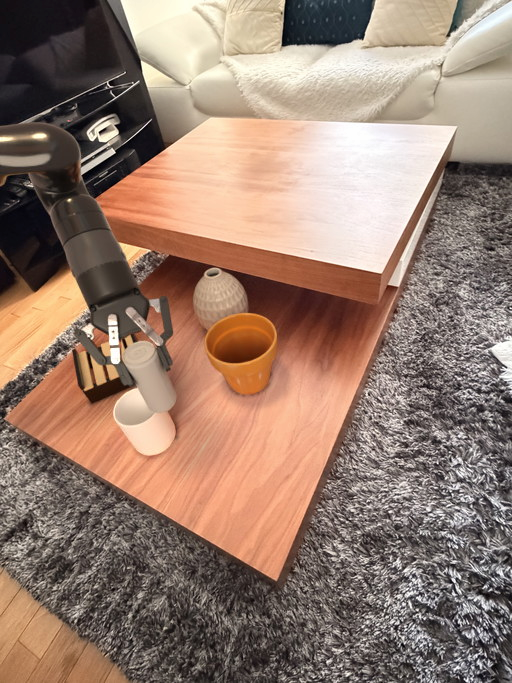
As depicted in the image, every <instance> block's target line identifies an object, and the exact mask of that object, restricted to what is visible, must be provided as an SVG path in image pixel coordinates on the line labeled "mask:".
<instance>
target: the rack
mask: <svg viewBox="0 0 512 683" xmlns="http://www.w3.org/2000/svg"><path fill="white" fill-rule="evenodd" d="M138 341H139V340H138V338H137V335H136V333H135V334H130V335H129V336H128V337H126V338H124V339H122V340H121V345H122V347H121V351H122V360H123V353H124V351H125V349H126V348H127V347H128V346H130V345H131V344H133V343H135V342H138ZM98 348H99V349H100V350H101V351H102V353H103V354H104V355H105V356H111V350H110V342H109V341H106V342H104V343H101V344H100V346H98ZM71 353H72V358H73V364H74V369H75V375H76V381H77V387H78V388H79V389H80V390H81V391H82V393H83V395H85V397H86V398H87V400H88V401H89V402H90V404H91V405H93V404H95V403H97V402H101V401H102V400H104V399H107V398H109V397H111V396H114V395H116V394H118V393H120V392H123V391H125V390H127V389H128V390H129V389H131V388H130V387H129V385H126V386H125V385H124V384H123V383H122V382H121V379H120V377H119V375H118V373H117V371H116V368H115V367H114V366H113V365H105V367H106V370H107V374H108V377H107V376H106V373H105V368H104V365H99V364H97V362H96V361H95V360H94V359H93V357H92V356H91V355H90V354H89V353H88V351H87V350H83V351H80V352H78V350H77V349H76V348H73V349H71ZM123 362H124V361H123ZM91 370H93V375H94V380H95V383H94V380H93V376H92V372H91ZM134 383H135V382H134ZM135 385H136V384H135Z"/></svg>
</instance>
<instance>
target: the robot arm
mask: <svg viewBox="0 0 512 683" xmlns="http://www.w3.org/2000/svg"><path fill="white" fill-rule="evenodd" d="M81 152H82V151H81V149H80V146H79V143H78V141H77V139H76V138H75V137H74V136H73V135H72V134H71V133H70V132H68V131H67V130H66V129H64V128H61V127H59V126H58V125H54V124H51V123H47V122H39V121H31V122H21V123H16V124H15V123H13V124H8V125H0V187H2V186H3V185H5V183H6V182H7V180H8V179H7V178H8V177H9V176H15V175H23V174H24V175H25V174H28V177H29V179H30V182H31V184H32V186H33V189H34V190H35V193H36V195H37V197H38V198H39V200H40V202H41V204H42V205H43V207H44V209H45V211H46V212H47V213H48V215H49V216H50V219H51V220H50V221H51V223H52V226H53V228H54V230H55V232H56V235H57V237H58V240H59V241H60V243H61V246H62V248H63V250H64V253H65V257H66V262H67V264H68V266H69V268H70V272H71V275H72V277H73V278H74V279H75V282H76V285H77V286H78V288H79V290H80V293H81V295H82V297H83V299H84V301H85V303H86V305H87V308H88V310H89V313H90V319H89V320H90V322H88V324H86V325H85V326H83V327H82V328H77V329H75V330H74V331H73V335H74V337H75V338H76V339H77V341H78V342H79V343H80V344H81V345H82V347H83V348H84V350H85V351H86V352H88V353H89V354H90V355H91V356H92V357H93V359H94V360H95V361H96V362H97V364H99V365H103V366H106V365H113V366H114V367H115V368H116V371H117V373H118V375H119V377H120V379H121V382H122V383H123V384H124V385H125V386H126V385H129V387H130V388H129V389H131V388H134V387H137V386H136V385H135V383H134V381H133V378H132V377H131V375H130V373H129V371H128V369H127V368H126V366H125V364H124V362H123V360H122V351H121V347H122V345H121V340H122V339H124V338H126V337H128V336H129V335H130V334H135V335H136V334H139V333H141V332H143V334H144V335H145V336H146V337H148V338H149V339H150V341H151V343H152V344H153V345H154V346H155V348H156V349H157V352H158V354H159V356H160V358H161V361H162V363H163V365H164V367H165V370H166V372H167V373H168V372H170V371H171V370H172V369H171V366H173V365H174V364H173V359H172V357H171V354H170V353H169V350H168V348H167V345H166V343H167V342H168V341H169V340H170V339H171V338H172V337H173V335H174V328H173V322H172V316H171V310H170V305H169V299H168V296H166V295H162V296H160V297H159V298H152V299H149V298H148V297H147V296H145V295H144V294H143V292H142V290H141V288H140V285H139V284H138V281H137V279H136V277H135V274H134V273H133V270H132V269H131V266H130V264H129V262H128V259H127V256H126V254H125V252H124V250H123V248H122V246H121V244H120V243H119V241H118V239H117V238H116V237H115V234H114V232H113V230H112V228H111V225H110V223H109V221H108V219H107V217H106V214H105V212H104V210H103V208H102V207H101V205H100V203H99V202H98V201H97V200H96V199H95V198H94V197H93V196H91V195H90V193H89V191H88V188H87V187H86V184H85V181H84V179H83V176H82V154H81ZM150 308H152V309H154V311H155V312H156V313H157V314H160V315H161V321H162V325H163V332H162V333H160V334H159V333H158V332H157V331H155V329H154V328H153V327H152V326H151V325H150V324H149V323H148V322H147V321H148V317H149V313H150ZM95 330H98V331H100V332H102V333H103V334H105V335H107V336H108V340H109V342H110V350H111V356H105V355H104V354H103V353H102V351H101V350H100V349H99V348H98V347H99V346H98V345H97V344H96V343H95V341H94V340H95V339H96V334H95Z"/></svg>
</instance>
